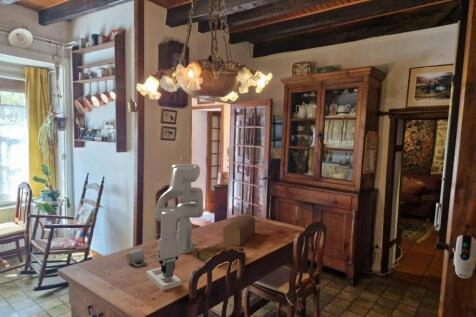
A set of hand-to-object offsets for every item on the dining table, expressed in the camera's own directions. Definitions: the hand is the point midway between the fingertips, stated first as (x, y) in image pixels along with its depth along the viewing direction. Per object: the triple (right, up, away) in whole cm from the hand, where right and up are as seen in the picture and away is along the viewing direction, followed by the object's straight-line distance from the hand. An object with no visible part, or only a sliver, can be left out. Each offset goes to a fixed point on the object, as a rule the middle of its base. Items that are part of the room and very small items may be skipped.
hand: (168, 270), depth 153 cm
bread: (+37, -3, +75) cm, 84 cm away
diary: (+24, -6, +37) cm, 45 cm away
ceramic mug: (-24, -5, +25) cm, 35 cm away
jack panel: (-4, -7, +5) cm, 9 cm away
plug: (0, -3, 0) cm, 3 cm away
